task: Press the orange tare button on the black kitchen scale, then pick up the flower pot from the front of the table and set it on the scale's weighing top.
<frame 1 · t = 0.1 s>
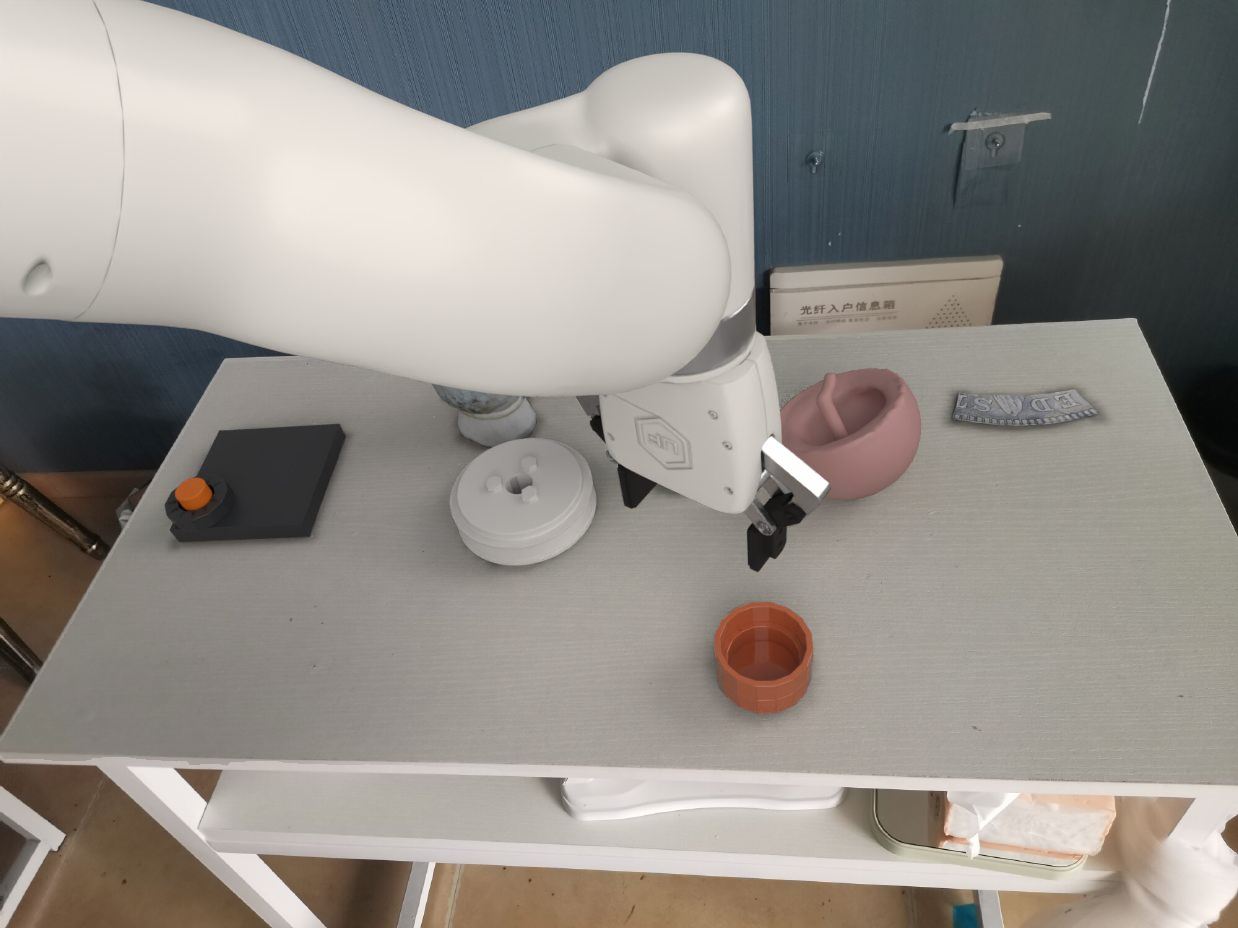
hand: (701, 523, 58), 15 cm above the table, tool pointing down, fingers open, 9 cm apart
mortar and pestle: (841, 477, 79), on the table
gray bolted wheel hub: (529, 516, 80), on the table
flower pot: (763, 674, 66), on the table
figurine: (496, 419, 90), on the table
coin fragment: (1022, 410, 81), on the table
cup: (683, 468, 82), on the table
tare button: (193, 494, 82), point 4 cm above the table, slide at 0.1 cm
scale: (265, 487, 87), on the table
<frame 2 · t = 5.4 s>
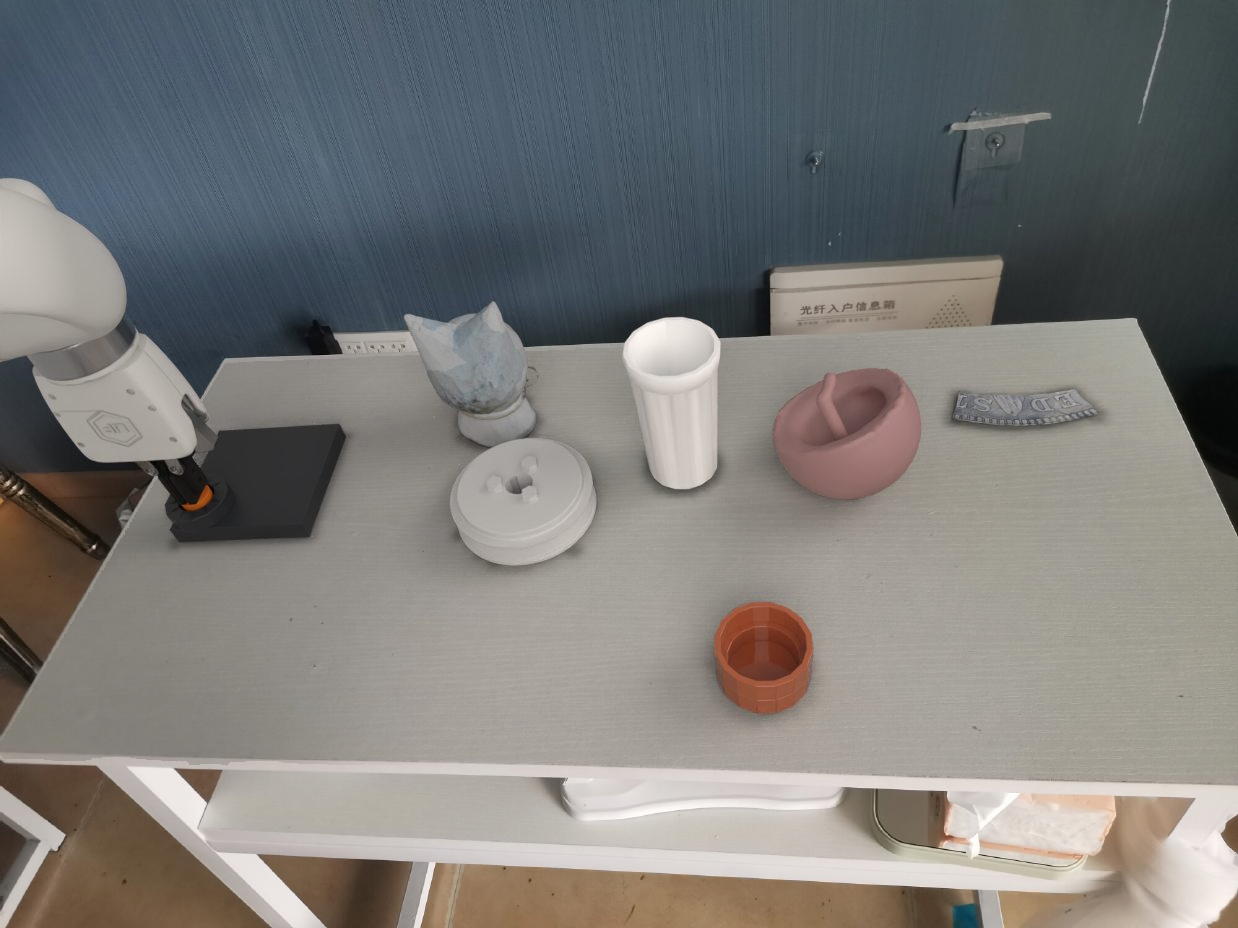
hand: (194, 492, 82), 4 cm above the table, tool pointing down, fingers closed
tare button: (197, 499, 82), point 3 cm above the table, slide at -0.7 cm, touching gripper
everything else where it was.
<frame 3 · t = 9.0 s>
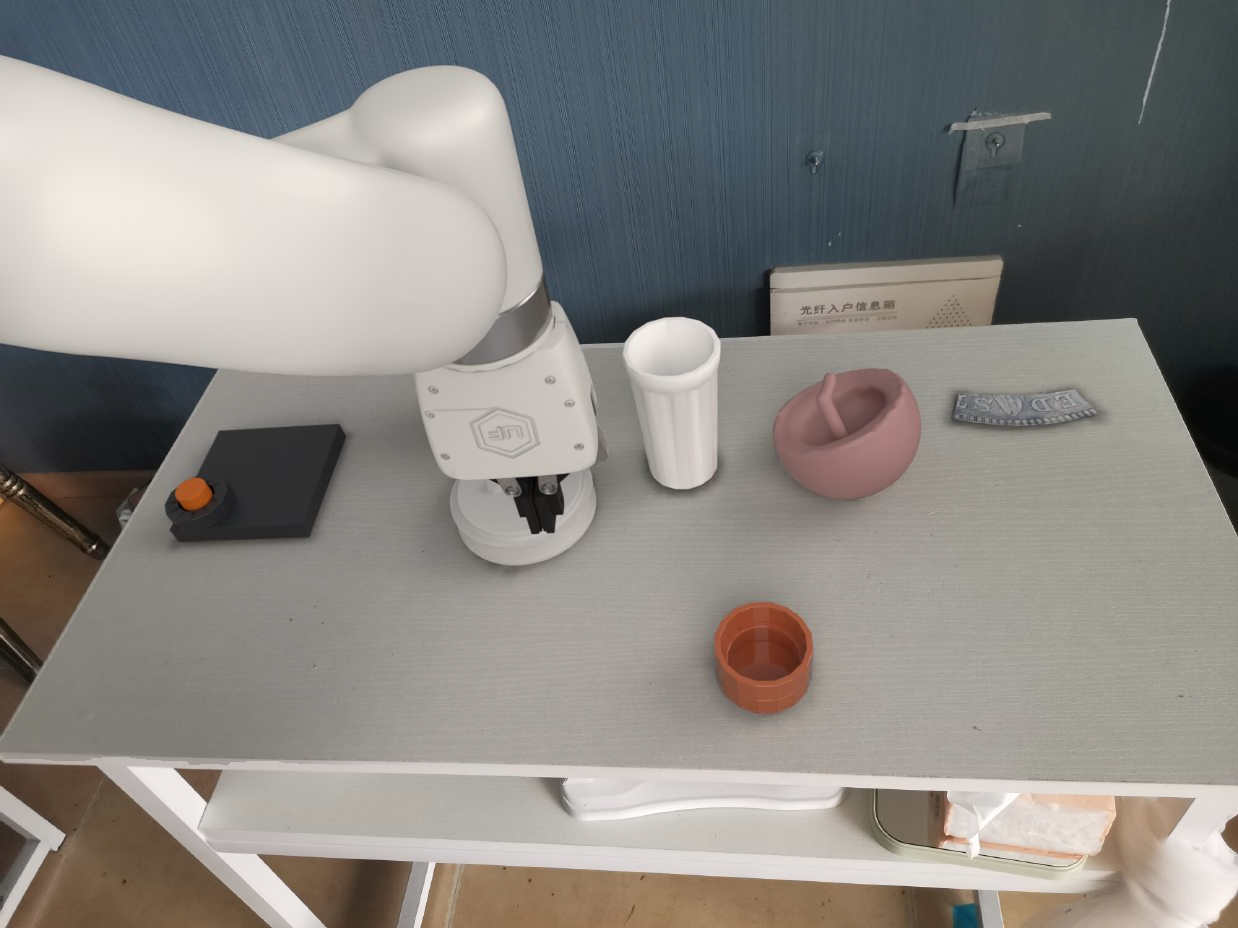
hand: (545, 517, 62), 13 cm above the table, tool pointing down, fingers closed
tare button: (193, 494, 82), point 4 cm above the table, slide at 0.1 cm
everything else where it was.
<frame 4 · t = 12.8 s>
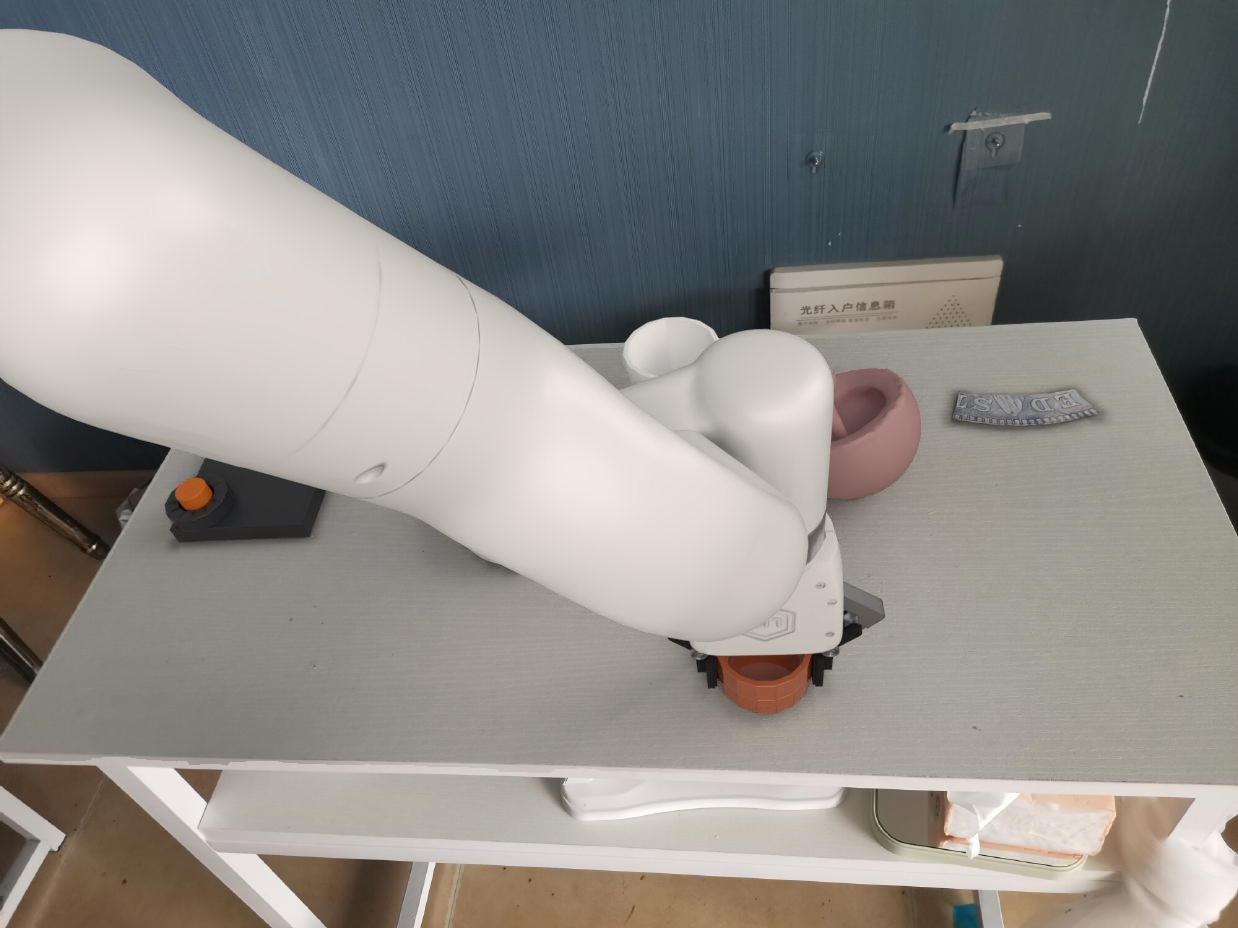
hand: (763, 668, 66), 1 cm above the table, tool pointing down, fingers closed on flower pot, 7 cm apart
flower pot: (763, 674, 66), on the table, touching gripper
everything else where it was.
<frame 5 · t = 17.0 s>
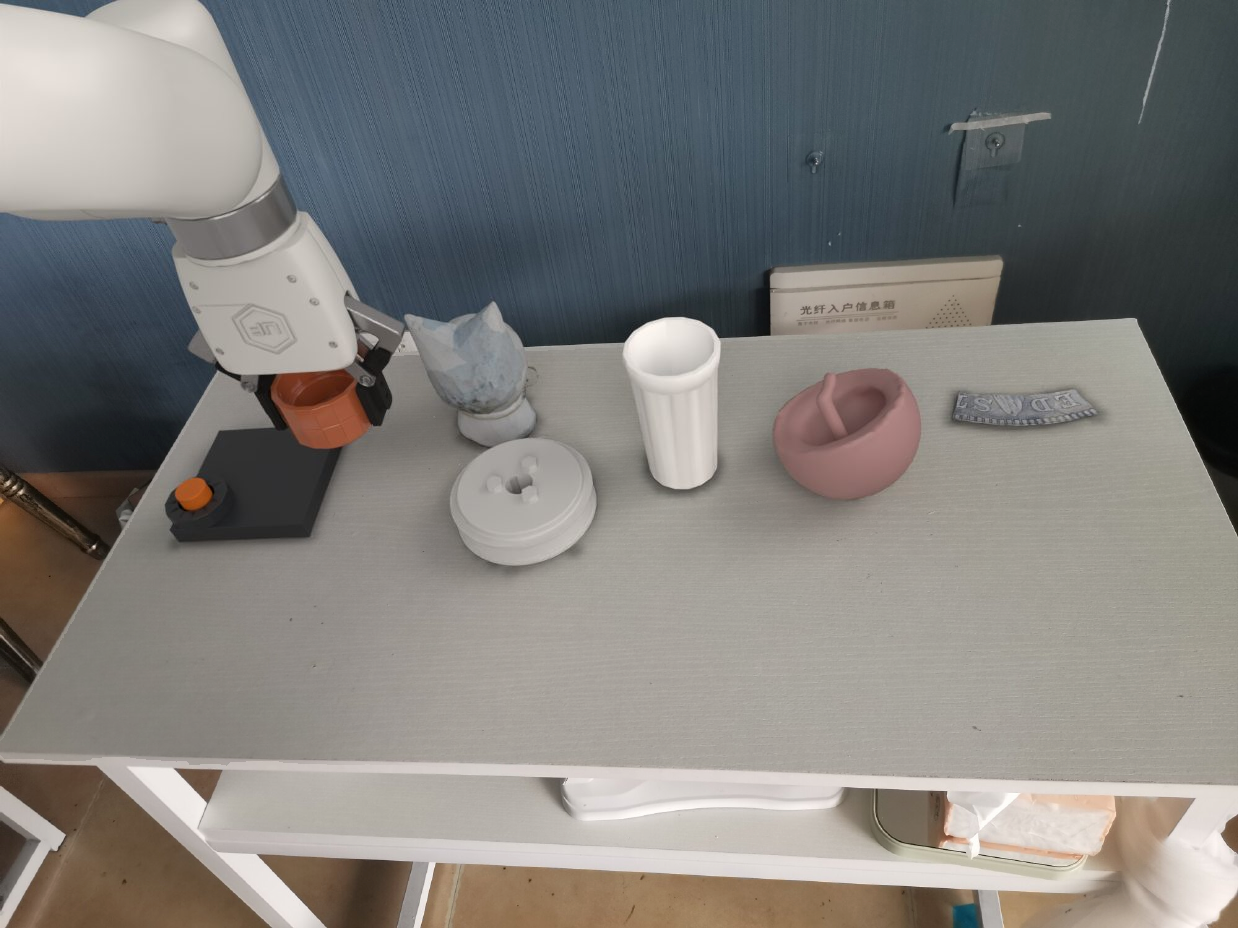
hand: (334, 414, 69), 16 cm above the table, tool pointing down, fingers closed on flower pot, 7 cm apart
flower pot: (338, 421, 69), point 15 cm above the table, touching gripper
everything else where it was.
when the fingers open (4 cm above the table, at t = 21.6 s): flower pot stays where it is, resting on scale.
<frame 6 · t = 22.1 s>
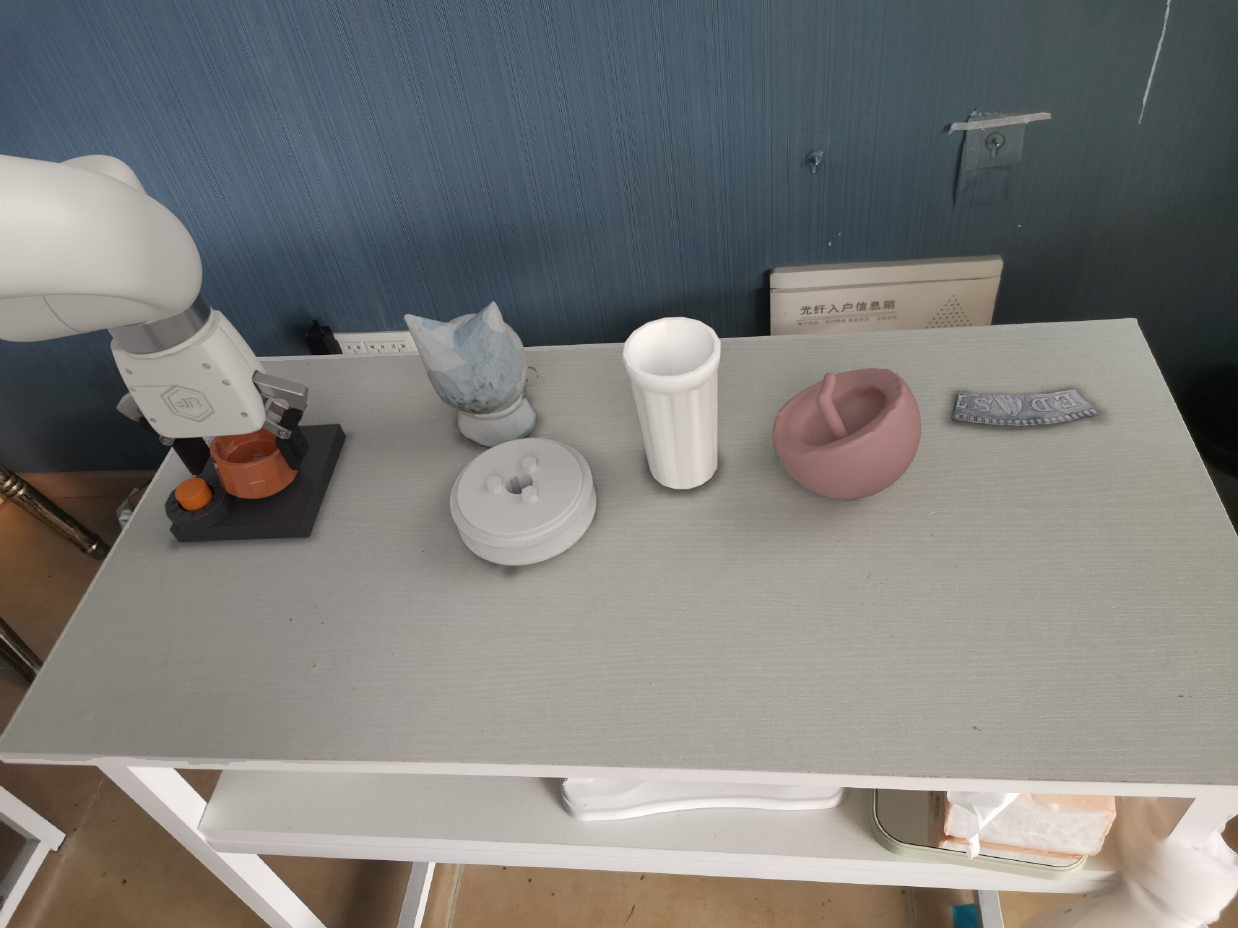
hand: (251, 461, 83), 5 cm above the table, tool pointing down, fingers open, 9 cm apart
flower pot: (261, 477, 84), point 2 cm above the table, tilted 11°, touching scale
everything else where it was.
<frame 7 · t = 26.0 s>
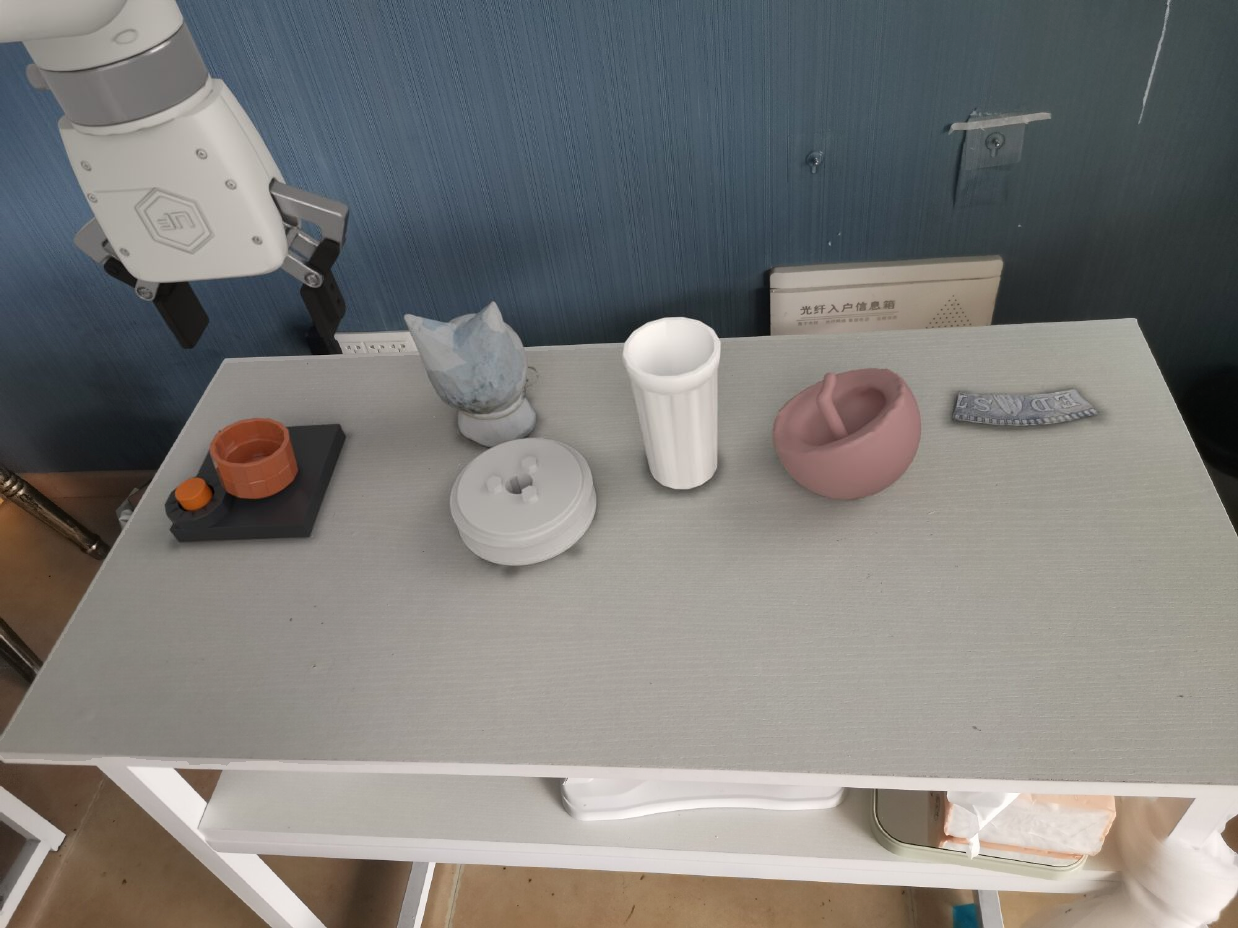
hand: (265, 330, 59), 26 cm above the table, tool pointing down, fingers open, 9 cm apart
nothing on the table moved.
at the end: tare button pushed in 0.9 cm at the most during the clip, back to where it started at the end; tare button slide at 0.1 cm; flower pot inside the target area on the scale (0.6 cm from its centre), point 2.4 cm above the scale's base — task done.
